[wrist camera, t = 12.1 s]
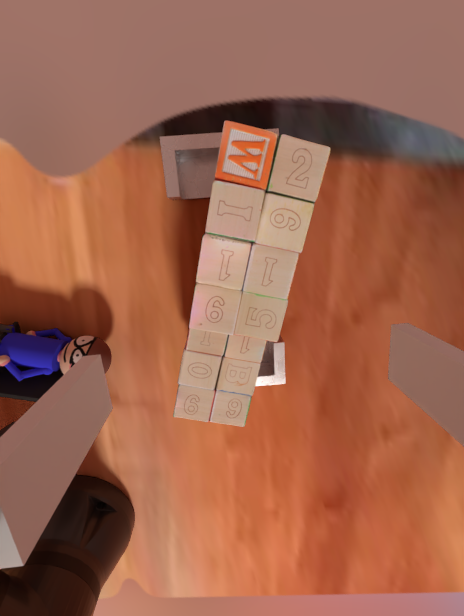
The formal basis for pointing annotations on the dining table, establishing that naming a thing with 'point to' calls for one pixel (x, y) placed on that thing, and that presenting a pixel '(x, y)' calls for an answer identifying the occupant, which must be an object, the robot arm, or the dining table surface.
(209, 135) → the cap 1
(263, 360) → the grey piece
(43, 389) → the character figurine
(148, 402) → the dining table surface
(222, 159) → the stack of blocks
